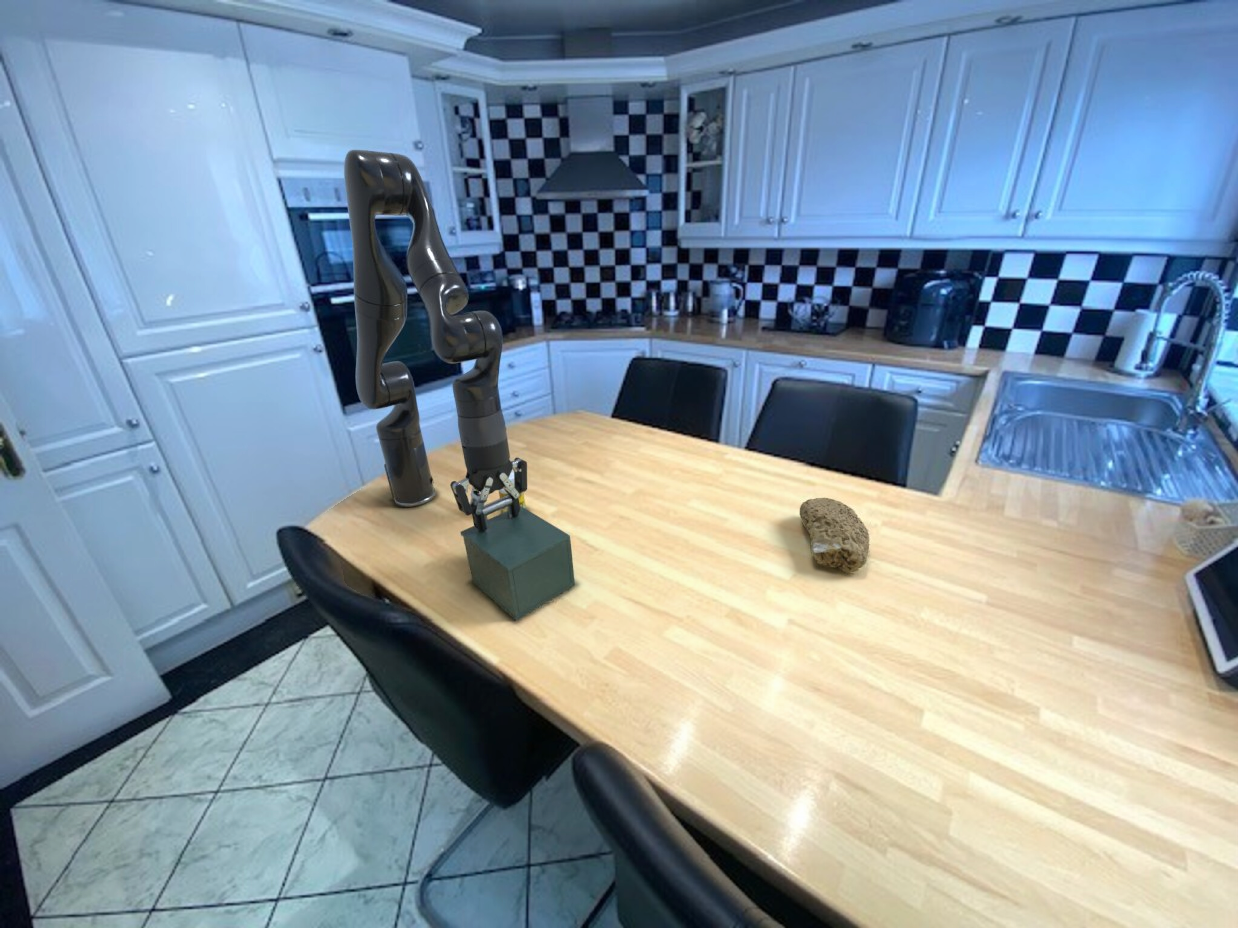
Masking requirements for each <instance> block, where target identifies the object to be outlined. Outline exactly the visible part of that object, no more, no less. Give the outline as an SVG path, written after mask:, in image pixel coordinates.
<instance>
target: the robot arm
mask: <svg viewBox="0 0 1238 928" xmlns="http://www.w3.org/2000/svg"><path fill="white" fill-rule="evenodd" d="M421 176H422V175H421V173H420V172H419V170H418V168H417V167H416V165H415V163H414V162H413V160H411V158H410V157H408V156H407V155H403V154H402V153H401V154H400V153H395V152H386V151H378V150H377V151H376V150H365V149H350V150H349V151H348V152H347V153H346V155H345V158H344V162H343V179H344V189H345V190H344V191H345V197H346V204H347V212H348V219H349V227H350V236H351V246H352V247H351V248H352V263H353V264H352V265H353V266H352V267H353V269H352V270H353V299H354V301H353V302H354V312H355V322H356V323H355V324H356V362H355V363H356V364H355V386H356V392H357V395H358V398H359V400H360V402H361V404H363V406H364V407H365V408H367V409H369V410H381V409H385V408H389V407H392V406H393V408H392V409H391V410H390V412H389V413H388V414H387V415H386V416H384V417H383V418H381V419H380V420H379V421H378V422H377V424H376V426H375V430H376V435H377V437H378V442H379V446H380V448H381V452H382V456H383V459H384V465H383V467H384V471H385V475H386V479H387V483H388V487H389V489H390V493H391V497H392V500H393V501H394V503H395V505H397V506H398V507H402V508H412V507H417V506H422V505H424V504H427V503H428V502H430V501H432V500H433V499H434V498H435V496H436V494H437V493H436V490H435V487H434V484H435V482H434V479H433V475H432V473H431V469H430V464H429V460H428V455H427V451H426V445H425V442H424V437H423V433H422V429H421V424H420V423H421V422H420V421H421V420H420V419H421V418H420V412H419V407H418V401H417V395H416V388H415V383H414V380H413V379H414V378H413V376H412V373H411V371H410V369H409V368H408V366H407V365H406V364H405V363H404V362H402V361H399V360H393V361H389V362H384V359H385V356H386V354H387V352H388V350H389V349H390V347H391V346H392V344H393V343H394V342H395V340H396V339H397V337H398V336H399V334H400V333H401V331H402V330H403V328H404V326H405V323H406V321H407V318H408V286H407V283H406V281H405V278H404V276H403V274H402V273H401V271H400V270H399V268H398V267H397V265H396V264H395V263H394V261H393V260H392V258H391V257H390V255H389V254H388V253H387V251H386V250H385V248H384V246H383V245H382V243H381V241H380V239H379V236H378V234H377V229H376V216H397V217H401V216H406V217H407V218H408V219H409V220H410V222H411V223H412V233H411V236H410V241H409V243H408V246H407V251H406V268H407V272H408V275H409V277H410V280H411V281H412V283H413V286H414V287H415V289H416V291H417V293H418V295H419V297H420V300H421V301H422V303H423V306H424V310H425V314H426V317H427V322H428V328H429V337H430V342H431V347H432V350H433V352H434V353H435V355H436V356H437V357H438V358H439V359H440V360H442V361H443V362H445V363H448V364H458V363H463V362H469V361H475V362H474V364H473V367H472V368H471V369H469V370H468V371H467V372H465V373H463V374H461V375H459V376H457V377H455V379H454V380H453V381H452V393H453V398H454V403H455V409H456V413H457V427H458V434H459V438H460V443H461V448H462V455H463V459H464V464H465V468H466V474H465V477H464V478H463V479H461V480H458V481H457V480H453V481H451V483H450V488H451V491H452V494H453V497H454V500H455V502H456V505H457V508H458V510H459V511H460V512H461V513H463V514H464V515H466V516H468V517H470V516H471V518H472V523H473V526H475V527H476V528H477V529H478V530H480V531H482V532H484V531H486V530H487V528H486V523H485V517H484V513H483V512H482V510H483V506H484V505H485V503H486V502H487V501H488V497H489V496H490V495H491V494H493V493H494V492H497V491H499V490H501V489H504V490H505V492H506V493H507V494H508V495H509V496H510V497H511V498H512V501H513V504H512V505H511V509H512V515H513V516H514V517H516V516H518V515H519V514H518V512H520V505H519V495H520V493H522V492H524V493H525V492H527V490H528V462H527V461H526V460H524V459H522V458H520V457H515V458H514V459H513V460H511V455H510V447H509V440H508V433H507V426H506V420H505V417H504V414H503V409H502V404H501V397H500V390H499V377H500V366H501V360H502V359H501V357H502V351H503V343H504V340H503V339H504V338H503V330H502V326H501V325H500V322H499V321H498V319H497V317H495V314H494V315H493V313H491V312H490V311H488V310H474V311H467V312H461V313H458V312H460V311H462V310H463V309H464V308H465V307H466V306H467V305H468V302H469V298H470V297H469V296H470V295H469V290H468V288H467V286H466V283H465V282H464V279H463V278H462V276H461V275H460V273H459V270H458V269H457V267H456V265H455V263H454V261H453V260H452V258H451V256H450V253H449V252H448V249H447V247H446V245H445V241H444V239H443V237H442V233H441V231H440V228H439V224H438V222H437V218H436V215H435V212H434V209H433V206H432V204H431V201H430V198H429V196H428V193H427V190H426V187H425V184H424V182H423V179H422V177H421ZM383 362H384V363H383ZM511 472H514V485H513V484H512V482H511V481H510V480H509V476H510V473H511ZM469 485H470V486H472V487H471V491H470V500H469V498H468V495H467V493H468V492H469Z"/></svg>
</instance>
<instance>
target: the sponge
mask: <svg viewBox="0 0 1238 928" xmlns="http://www.w3.org/2000/svg"><path fill="white" fill-rule="evenodd" d="M799 516H800V519H801V523H802V525H804V528H805V529H806V530H807V533H808V535H809V538H810V539H811V540H810V541H811V542H810V553H811V556H812V557H813V558H814V559H815V560H816V562H817V563H818V564H819V565H823V566H826V567H829V568H834V569H837V568H839V569H840V570H842V571H843V572H845V573H847V574H854V573H855V572H858V571H860V569H861V568H863V567H864V566H865V565H866V563H867V561H868V558H869V557H868V556H869V552H870V550H869V549H870V534H869V530H868V529H867V527H866V525H865V523H864V522H863V521H862V519H861V518H860V517H859V516H858V514H857V513H856V511H855V510H854V509H853V508H851V507H850V506H848V505H847V504H845V503H843V502H842V501H839V500H836V499H833V498H828V497H816V498H815V497H814V498H809V499H806V501H803V502H802V503H801V505H800V506H799Z"/></svg>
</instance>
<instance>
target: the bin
mask: <svg viewBox="0 0 1238 928" xmlns="http://www.w3.org/2000/svg"><path fill="white" fill-rule="evenodd" d="M462 539H463V542H464V543H463V544H464V547H465V552H466V558H467V563H468V567H469V573H470V577H471V581H472V583H473V584H474V585H475V586H477V587H478V588H479V589H480V590H481V591H482V592H483V593H484V594H486V595H487V596H488V597H489V598H490V599H491V600H492V601H493V602H494V603H495V604H497V606H499V607H500V608H501V609H502V610H503V611H504V612H506V613H507V614H508V615H509V616H510V617H511V618H512V619H513V620H515V621H518V620H520V619H521V618H522V617H525V616H526V615H527V614H528V615H529V613H531V612H533V611H534V610H536V609H537V608H539V607H540V606H542V605H544V604H546V603H548V602H549V601H551V600H552V599H554V598H556V597H558V596H559V595H561V594H563V593H564V592H566V591H568V590H569V589H570V588H572V587H574V586H575V585H576V582H575V581H576V580H575V572H574V571H575V570H574V561H573V551H572V542H571V539H570V540H568V541H566V542H564V543H562V544H560V545H558V546H557V547H555V548H553V549H551V550H549V551H547V552H545V553H543V554H541V555H540V556H538V557H536V558H534V559H532V560H530V561H528V562H526V563H524V564H523V565H521V566H519V567H517V568H515V569H513V570H511V571H509V572H507V571H506V570H505V569H503V568H502V567H501V566H499V565H498V564H497V563H496V562H494V561H493V560H492V559H491V558H489V557H488V556H487V555H485V554H484V553H483V552H482V551H480V550H479V549H478V548H477V547H475V546H474V545H473V544H471V543H470V542H469V541H468V540H466V539H465V538H464V537H463V536H462Z"/></svg>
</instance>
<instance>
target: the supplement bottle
mask: <svg viewBox="0 0 1238 928" xmlns="http://www.w3.org/2000/svg"><path fill="white" fill-rule="evenodd" d="M509 480H510V481H511V482H512V484H513V485H514V471H511V473H510V476H509ZM498 496H499V499H500V498H503V497H505V496H508V494H507V493H506V492H505V490H504V489H501V490H498ZM525 499H526V498H525V492H522V493H520V495H519V505H520V506H522V507H524V508H525V509H527V505H526V500H525ZM506 511H507V509H506V507H505V508H503V509H501V514H502V513H504V512H506Z"/></svg>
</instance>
